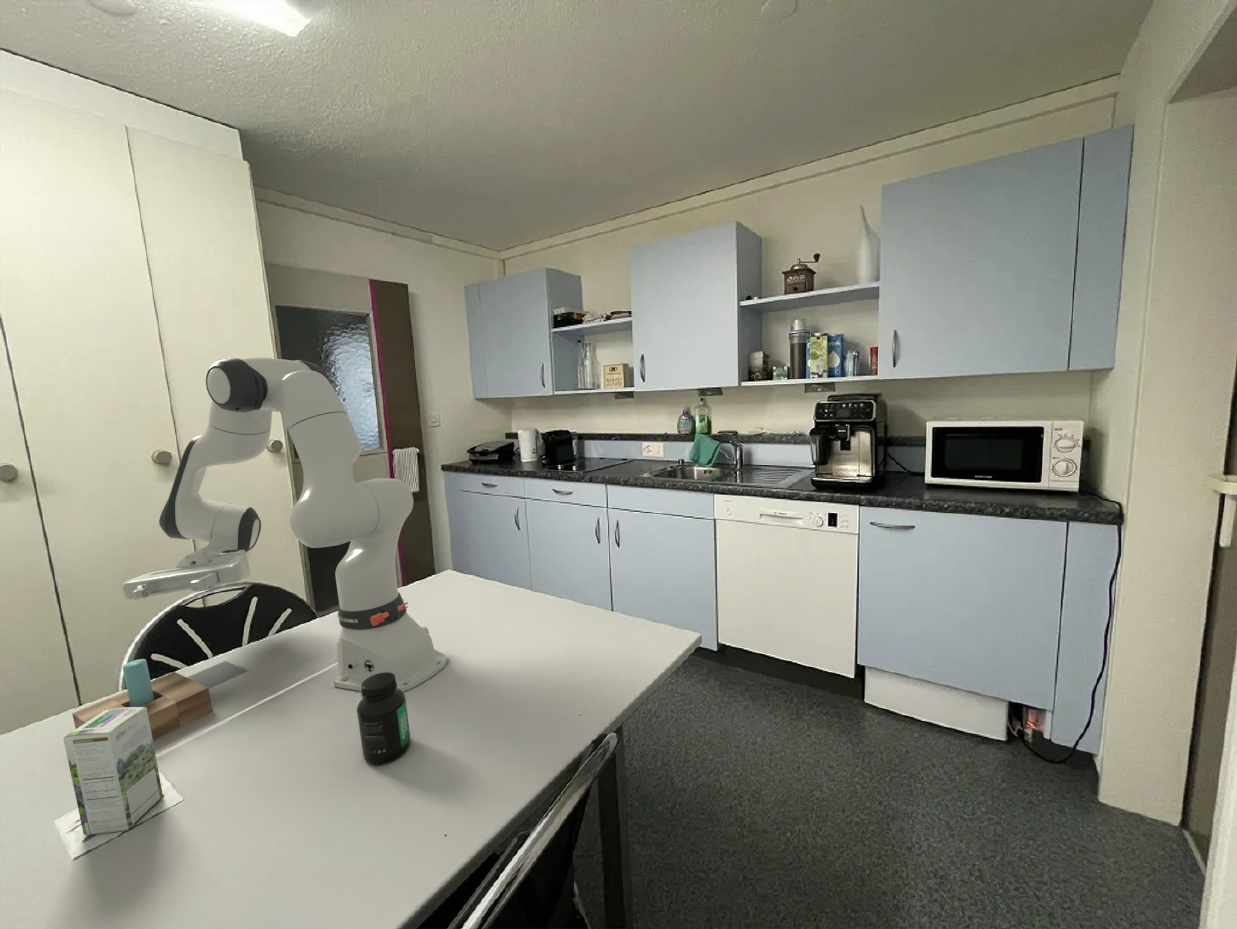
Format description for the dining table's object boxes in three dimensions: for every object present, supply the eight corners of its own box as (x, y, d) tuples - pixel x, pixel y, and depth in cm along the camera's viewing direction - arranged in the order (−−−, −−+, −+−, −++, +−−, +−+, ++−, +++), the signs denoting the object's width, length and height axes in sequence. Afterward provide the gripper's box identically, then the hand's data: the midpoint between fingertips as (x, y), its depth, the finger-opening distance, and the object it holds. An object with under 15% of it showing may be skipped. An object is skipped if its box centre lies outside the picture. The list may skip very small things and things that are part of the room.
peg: (162, 723, 89) (149, 661, 87) (140, 733, 86) (126, 669, 85) (155, 719, 90) (142, 657, 89) (133, 729, 88) (119, 666, 86)
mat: (248, 672, 105) (248, 670, 105) (191, 698, 96) (191, 696, 96) (225, 662, 110) (225, 661, 110) (168, 687, 101) (168, 685, 101)
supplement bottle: (419, 747, 78) (410, 677, 77) (375, 773, 73) (365, 699, 72) (398, 730, 83) (390, 663, 81) (356, 754, 78) (345, 683, 76)
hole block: (213, 713, 91) (208, 687, 90) (109, 764, 79) (102, 735, 78) (178, 695, 98) (174, 671, 97) (78, 739, 86) (72, 713, 85)
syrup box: (122, 802, 71) (101, 709, 69) (166, 797, 71) (146, 704, 69) (83, 837, 65) (59, 736, 63) (130, 831, 66) (108, 731, 64)
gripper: (143, 564, 107) (97, 585, 94) (252, 548, 112) (223, 565, 99) (150, 592, 108) (105, 617, 94) (258, 574, 113) (230, 595, 100)
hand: (167, 590), depth 97 cm, fingers open, 8 cm apart
